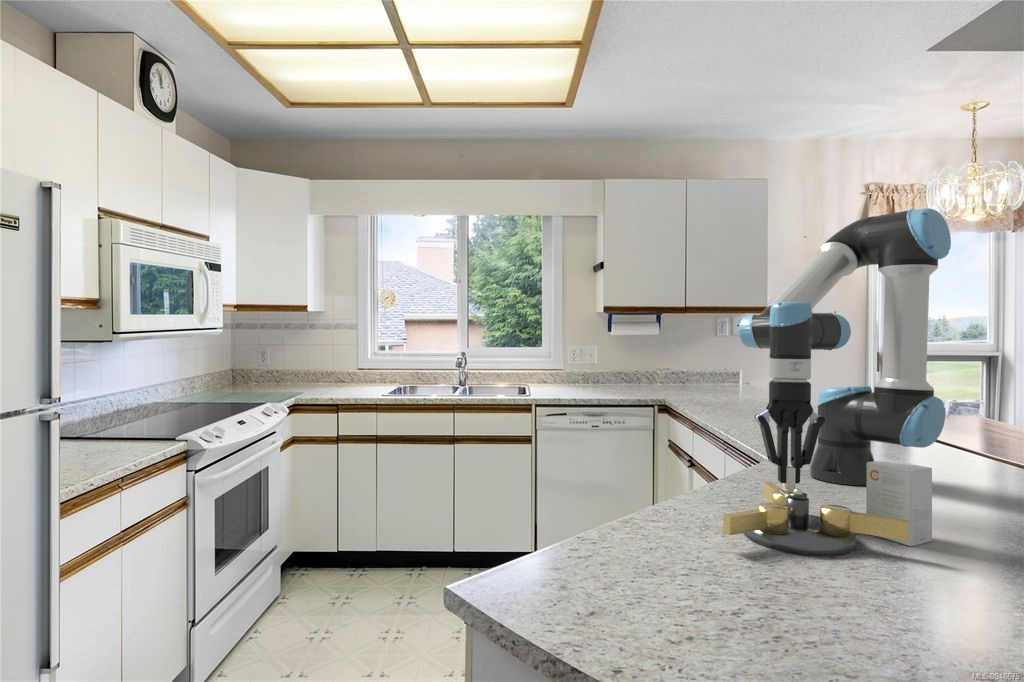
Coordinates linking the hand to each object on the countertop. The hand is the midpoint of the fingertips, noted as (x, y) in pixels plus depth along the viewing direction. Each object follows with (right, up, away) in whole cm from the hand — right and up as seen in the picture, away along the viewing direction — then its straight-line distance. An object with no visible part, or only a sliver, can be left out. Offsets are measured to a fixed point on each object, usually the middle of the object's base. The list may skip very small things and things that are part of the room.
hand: (788, 499), depth 119 cm
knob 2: (-3, -1, -2) cm, 4 cm away
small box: (+14, -4, -12) cm, 19 cm away
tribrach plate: (-4, -4, -12) cm, 13 cm away
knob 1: (-13, -2, -16) cm, 21 cm away
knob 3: (+4, -2, -18) cm, 18 cm away
